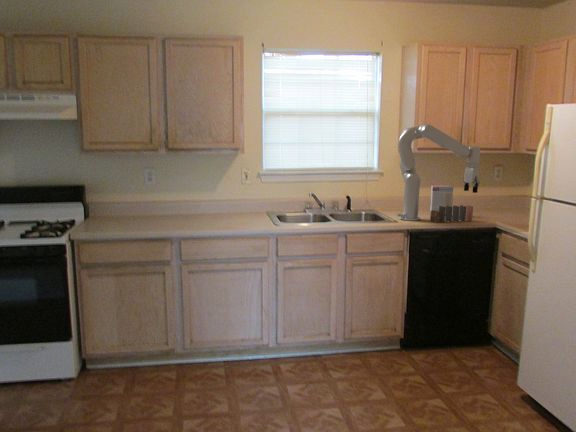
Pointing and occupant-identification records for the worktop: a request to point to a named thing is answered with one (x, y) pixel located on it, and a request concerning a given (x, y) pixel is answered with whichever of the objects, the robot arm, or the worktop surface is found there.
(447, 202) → the cracker box
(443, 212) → the domino
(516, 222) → the worktop surface
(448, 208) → the domino
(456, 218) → the domino
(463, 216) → the domino
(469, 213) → the domino
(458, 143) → the robot arm
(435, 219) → the end block
